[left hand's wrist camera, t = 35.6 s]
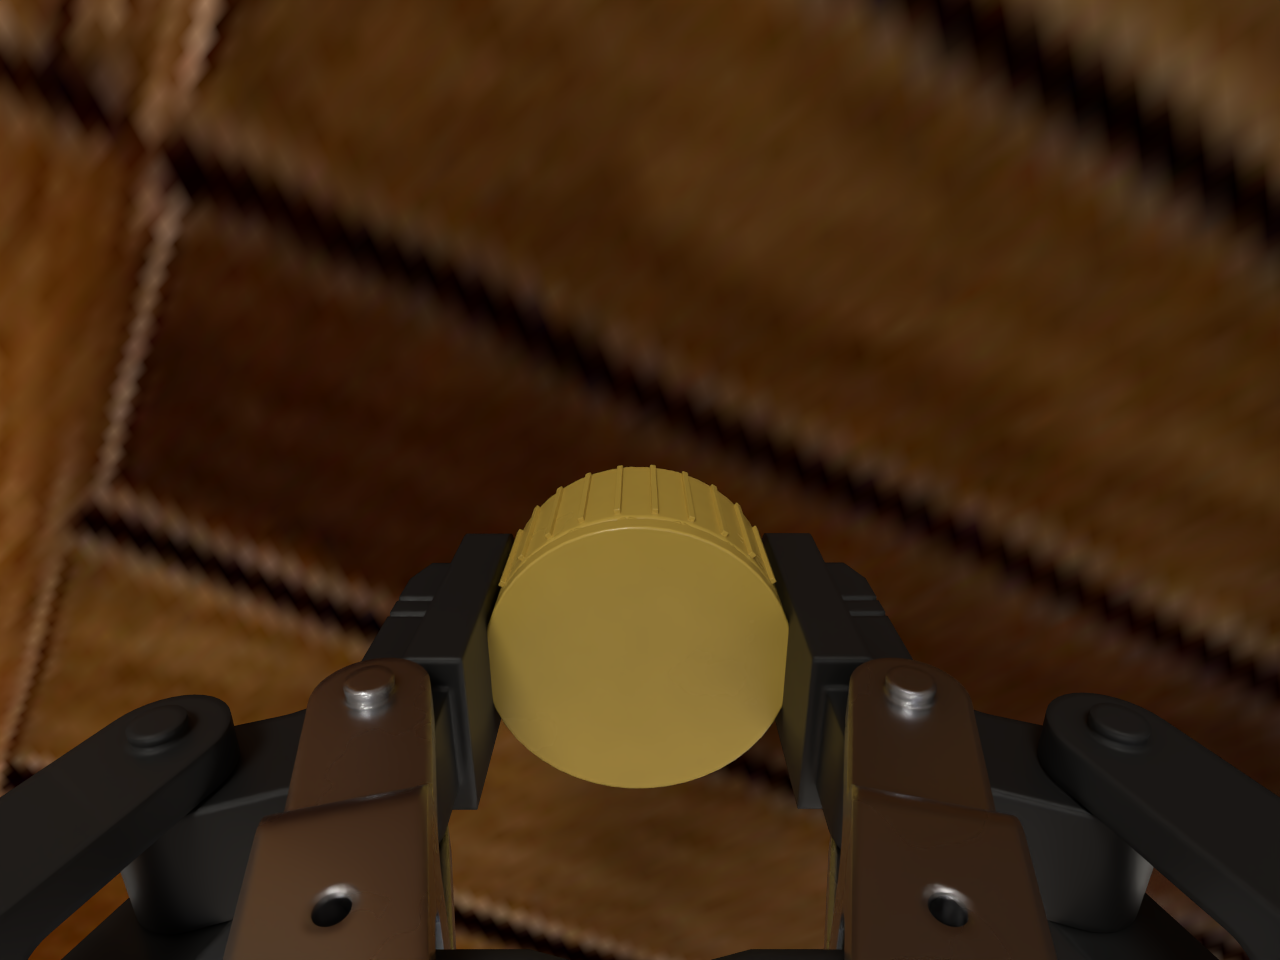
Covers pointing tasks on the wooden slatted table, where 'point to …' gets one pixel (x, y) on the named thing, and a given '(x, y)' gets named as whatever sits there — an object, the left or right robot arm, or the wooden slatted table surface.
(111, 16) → the wooden slatted table surface
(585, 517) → the cap
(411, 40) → the wooden slatted table surface
